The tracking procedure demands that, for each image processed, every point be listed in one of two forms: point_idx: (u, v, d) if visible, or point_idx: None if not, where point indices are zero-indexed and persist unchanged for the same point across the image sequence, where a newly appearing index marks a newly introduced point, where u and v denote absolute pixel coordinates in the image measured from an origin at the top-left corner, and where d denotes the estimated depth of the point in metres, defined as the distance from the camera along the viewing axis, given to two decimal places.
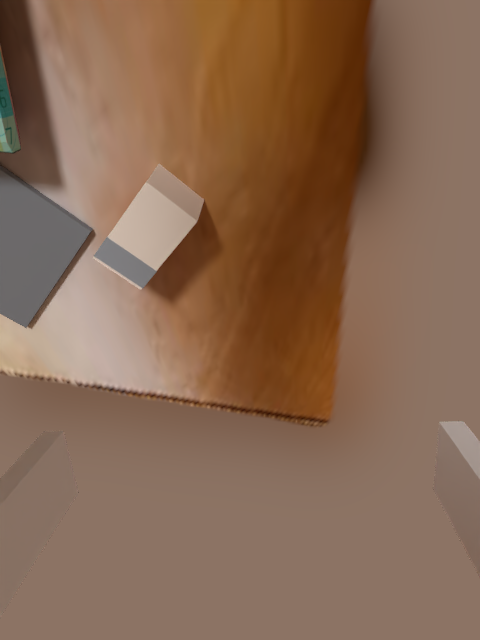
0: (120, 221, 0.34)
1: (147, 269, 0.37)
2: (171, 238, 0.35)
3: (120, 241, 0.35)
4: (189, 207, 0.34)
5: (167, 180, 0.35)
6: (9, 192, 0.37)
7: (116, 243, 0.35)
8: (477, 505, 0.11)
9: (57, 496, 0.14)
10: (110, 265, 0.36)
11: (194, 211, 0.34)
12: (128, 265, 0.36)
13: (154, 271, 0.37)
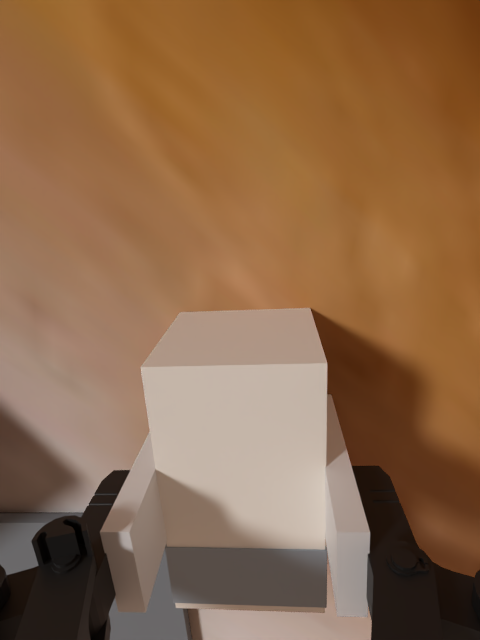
0: (163, 495, 0.12)
1: (303, 559, 0.13)
2: (298, 451, 0.12)
3: (199, 538, 0.13)
4: (285, 346, 0.12)
5: (205, 329, 0.14)
6: (19, 547, 0.19)
7: (192, 546, 0.13)
8: None
9: None
10: (220, 600, 0.14)
11: (303, 345, 0.12)
12: (255, 575, 0.13)
13: (321, 553, 0.13)
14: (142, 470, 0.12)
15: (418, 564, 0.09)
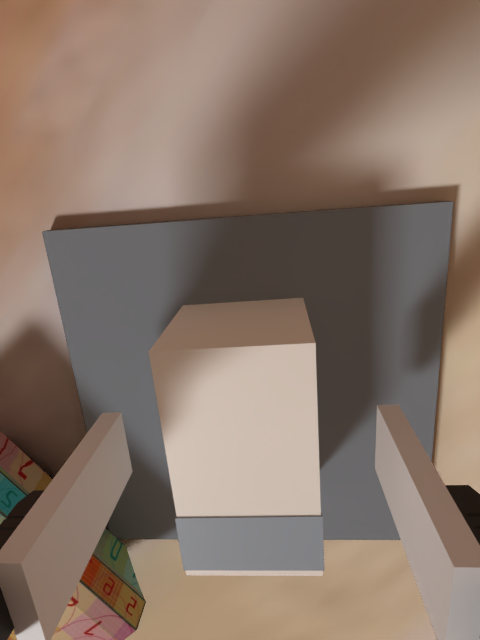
0: (172, 469, 0.14)
1: (301, 525, 0.14)
2: (293, 424, 0.13)
3: (205, 508, 0.14)
4: (278, 330, 0.13)
5: (206, 318, 0.15)
6: (110, 395, 0.19)
7: (199, 516, 0.14)
8: (398, 476, 0.12)
9: (117, 472, 0.15)
10: (227, 566, 0.15)
11: (295, 329, 0.13)
12: (258, 542, 0.14)
13: (318, 519, 0.14)
14: (55, 492, 0.11)
15: None
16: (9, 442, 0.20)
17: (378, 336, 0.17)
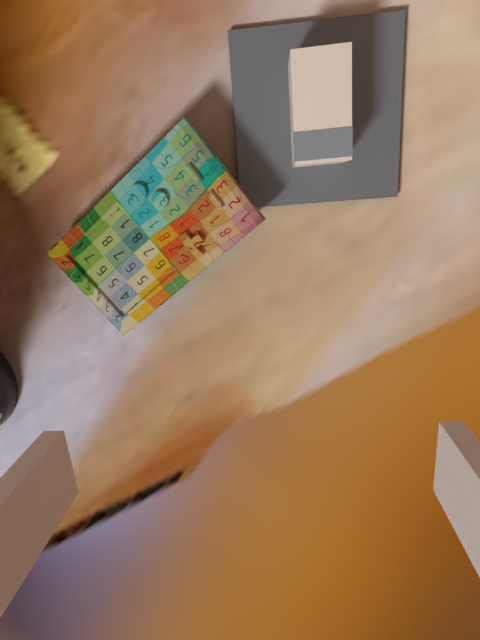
0: (294, 106, 0.35)
1: (344, 131, 0.35)
2: (342, 80, 0.34)
3: (306, 126, 0.35)
4: None
5: None
6: (249, 118, 0.40)
7: (303, 131, 0.35)
8: (477, 506, 0.11)
9: (57, 496, 0.14)
10: (312, 157, 0.36)
11: None
12: (326, 143, 0.36)
13: (350, 128, 0.35)
14: None
15: None
16: None
17: (374, 78, 0.38)
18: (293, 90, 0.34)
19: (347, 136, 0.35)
